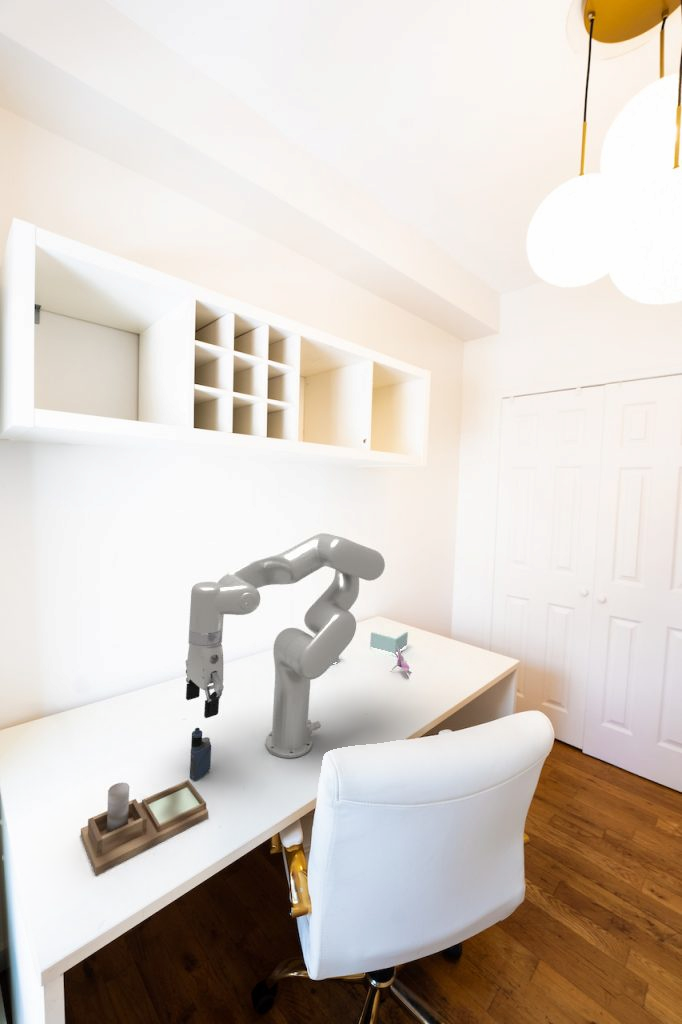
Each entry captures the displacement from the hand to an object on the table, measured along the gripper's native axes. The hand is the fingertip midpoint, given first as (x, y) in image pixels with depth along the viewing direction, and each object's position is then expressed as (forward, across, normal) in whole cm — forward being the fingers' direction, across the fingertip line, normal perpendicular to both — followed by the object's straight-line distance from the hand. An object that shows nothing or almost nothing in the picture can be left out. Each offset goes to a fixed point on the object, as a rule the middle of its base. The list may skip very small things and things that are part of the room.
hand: (201, 706), depth 102 cm
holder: (+17, -8, +14) cm, 24 cm away
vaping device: (+17, 0, 0) cm, 17 cm away
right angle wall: (+16, +26, -100) cm, 105 cm away
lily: (+16, +7, -85) cm, 86 cm away
